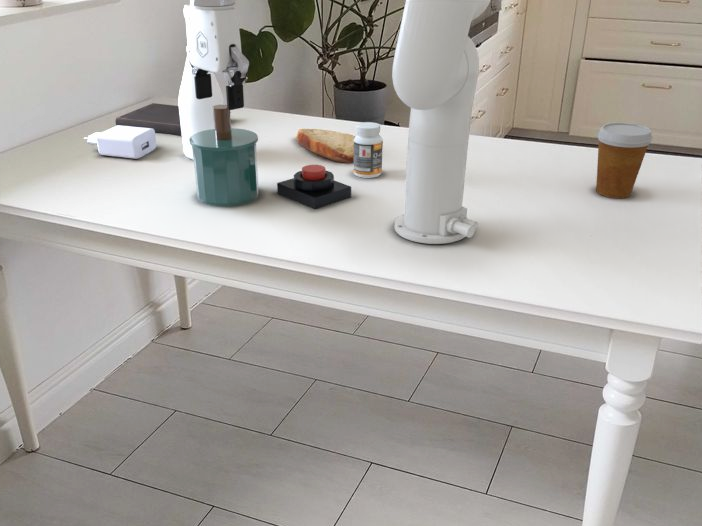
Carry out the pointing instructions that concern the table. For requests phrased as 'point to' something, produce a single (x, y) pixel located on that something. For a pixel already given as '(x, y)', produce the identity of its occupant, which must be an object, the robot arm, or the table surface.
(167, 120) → the hardcover book
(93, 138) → the charger
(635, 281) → the table surface
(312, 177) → the release button
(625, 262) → the table surface
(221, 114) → the lid
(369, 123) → the pill bottle
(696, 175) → the table surface
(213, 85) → the wine bottle
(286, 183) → the button housing
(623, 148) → the disposable coffee cup
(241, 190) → the canister
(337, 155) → the bread slice
